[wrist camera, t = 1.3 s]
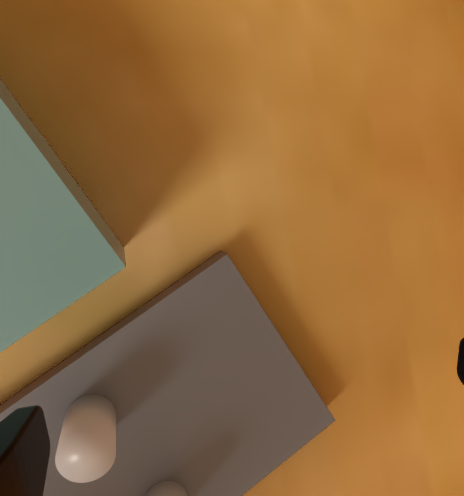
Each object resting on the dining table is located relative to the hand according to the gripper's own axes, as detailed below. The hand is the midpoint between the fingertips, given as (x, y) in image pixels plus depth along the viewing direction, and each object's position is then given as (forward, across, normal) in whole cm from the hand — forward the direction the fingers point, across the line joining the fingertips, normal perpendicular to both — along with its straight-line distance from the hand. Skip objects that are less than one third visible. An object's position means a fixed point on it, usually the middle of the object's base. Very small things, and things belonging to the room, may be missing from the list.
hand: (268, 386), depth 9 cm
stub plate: (+12, +5, +11) cm, 17 cm away
